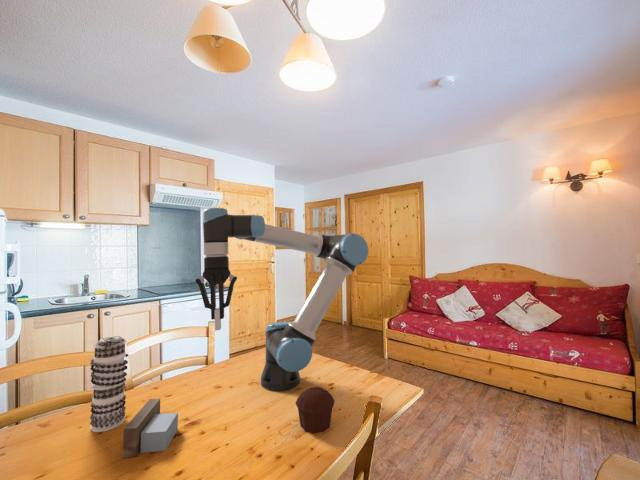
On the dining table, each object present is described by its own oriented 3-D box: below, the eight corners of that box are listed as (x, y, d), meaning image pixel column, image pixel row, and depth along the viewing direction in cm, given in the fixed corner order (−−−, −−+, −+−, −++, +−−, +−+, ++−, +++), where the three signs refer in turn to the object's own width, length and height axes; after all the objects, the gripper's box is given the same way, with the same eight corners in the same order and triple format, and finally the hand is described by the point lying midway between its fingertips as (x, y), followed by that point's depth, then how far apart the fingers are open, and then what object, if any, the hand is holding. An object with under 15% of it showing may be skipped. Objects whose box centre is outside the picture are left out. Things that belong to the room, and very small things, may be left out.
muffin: (321, 410, 95) (321, 378, 96) (342, 427, 86) (342, 392, 86) (288, 421, 89) (288, 387, 89) (307, 441, 79) (307, 403, 80)
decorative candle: (93, 418, 90) (96, 336, 91) (129, 412, 94) (131, 332, 95) (83, 436, 82) (86, 344, 83) (123, 428, 85) (125, 340, 86)
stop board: (159, 422, 88) (160, 398, 89) (135, 456, 74) (136, 428, 74) (149, 423, 88) (149, 399, 88) (122, 457, 73) (123, 428, 73)
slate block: (177, 430, 85) (177, 412, 85) (165, 451, 76) (165, 431, 76) (155, 432, 84) (155, 414, 84) (140, 453, 75) (140, 433, 75)
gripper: (238, 255, 101) (239, 324, 100) (197, 256, 98) (199, 327, 98) (236, 255, 93) (238, 330, 93) (192, 257, 91) (193, 334, 90)
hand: (218, 329), depth 95 cm, fingers closed
